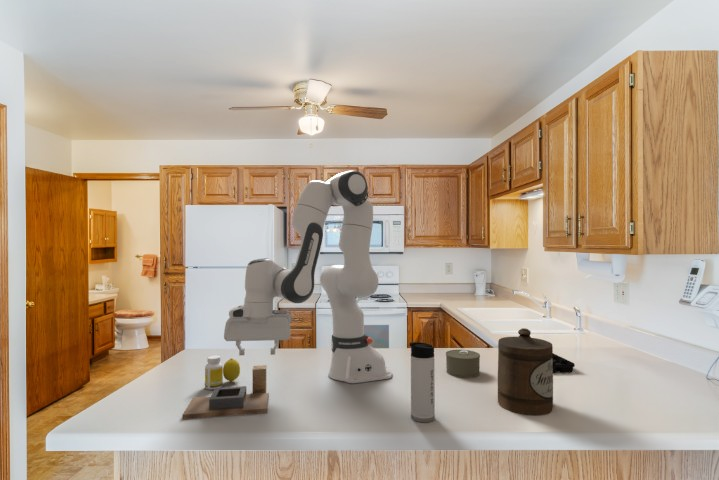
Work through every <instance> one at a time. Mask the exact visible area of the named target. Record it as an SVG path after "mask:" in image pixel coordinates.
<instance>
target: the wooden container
mask: <svg viewBox="0 0 719 480" xmlns="http://www.w3.org/2000/svg"><path fill="white" fill-rule="evenodd" d="M517 333H518V336H505V337H501V338H499V339H498V341H497V342H498V344H497V347H498V350H497V351H498V352H497V354H498V355H497V356H498V357H497V359H498V360H497V403H498V404H499V406H500V407H501V408H503V409H504V410H507V411H510V412H513V413H516V414H520V415H527V416H541V415H547V414H549V413H551V412H552V411H553V409H554V373H553V360H552V355H553V353H554V351H553V349H554V347H553V344H552V342H550V341H548V340H545V339H541V338H535V337H531V335H532V334H531V333H532V332H531V330H530V329H528V328H522V327H521V328H520V329H518V331H517Z"/></svg>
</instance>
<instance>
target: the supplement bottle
mask: <svg viewBox="0 0 719 480" xmlns="http://www.w3.org/2000/svg"><path fill="white" fill-rule="evenodd" d="M206 359H207V364H205V366H204V367H205V368H204V386H205V387H204V388H205V389H206V390H212V391H214V389H215V388H223V382H224V381H223V380H224V375H223V367H224V364H223V363H221V356H220V355H211V356H208V357H207V358H206Z"/></svg>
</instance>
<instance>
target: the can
mask: <svg viewBox="0 0 719 480" xmlns="http://www.w3.org/2000/svg"><path fill="white" fill-rule="evenodd" d="M480 357H481V355H480V353H479V352H476V351H473V350H469V349H452V350H448V351H446V352H445V359H446V362H445V365H446V366H445V367H446V370H445V372H446V373H447V374H448V375H449V376H451V377H454V378H455V377H456V378H461V379H462V378H463V379H471V378H472V379H473V378H477V377H478V376H480V361H481V360H480Z"/></svg>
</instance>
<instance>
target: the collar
mask: <svg viewBox="0 0 719 480" xmlns="http://www.w3.org/2000/svg"><path fill="white" fill-rule="evenodd" d="M246 394H247V385H246V386H245V385H243V386H229V387H228V386H227V387H221V388H215V389H214V390H212V392H211V396H209V397H210V399H209V410H223V409H237V408H243V407H244V403H245V400H246Z"/></svg>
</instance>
